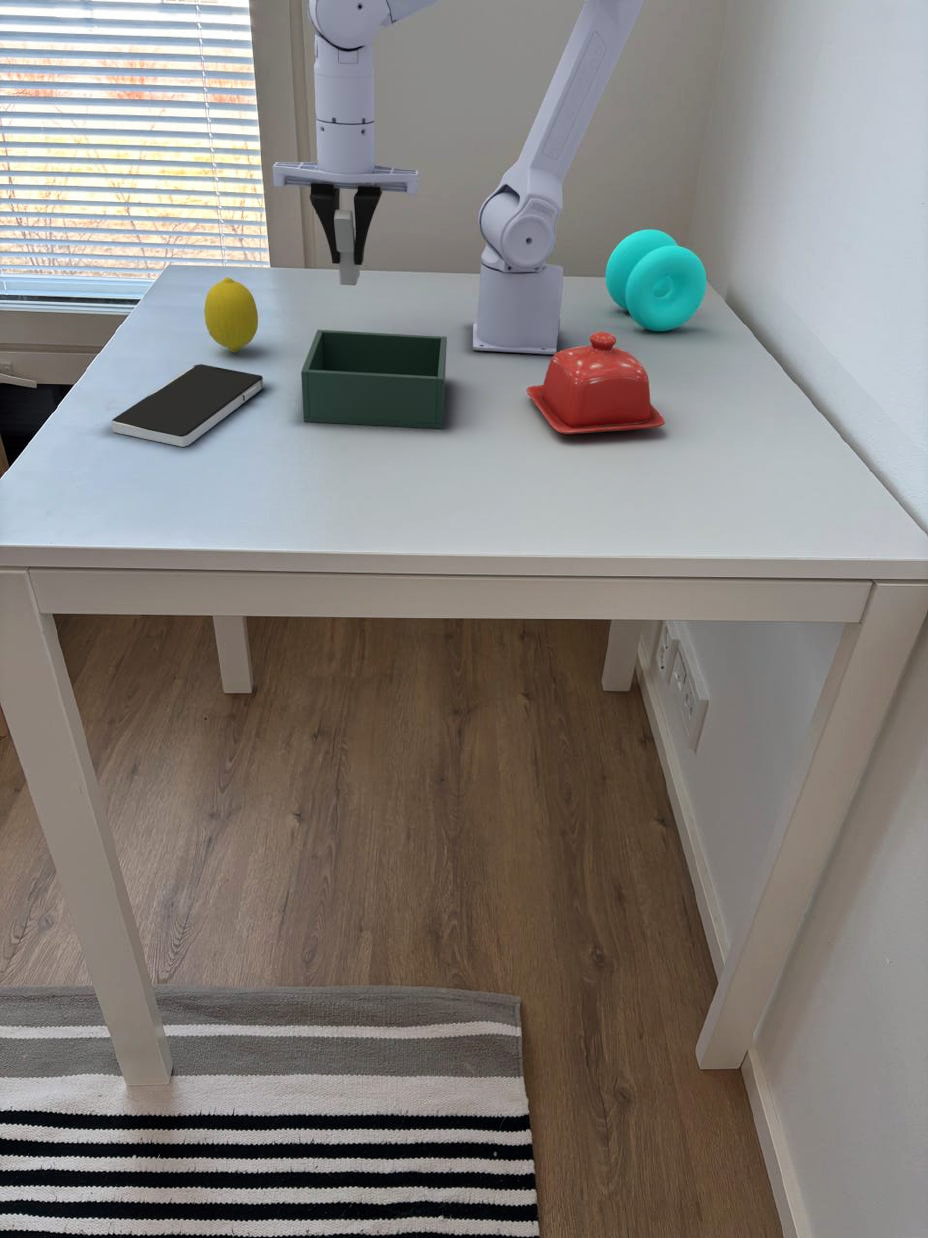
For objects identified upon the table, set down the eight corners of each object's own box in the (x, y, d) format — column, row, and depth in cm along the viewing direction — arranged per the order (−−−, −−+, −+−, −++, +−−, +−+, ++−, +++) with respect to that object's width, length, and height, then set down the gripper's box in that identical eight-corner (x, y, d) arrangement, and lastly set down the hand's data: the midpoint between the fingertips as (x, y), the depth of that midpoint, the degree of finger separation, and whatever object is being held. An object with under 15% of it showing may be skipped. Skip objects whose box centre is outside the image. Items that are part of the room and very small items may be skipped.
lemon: (249, 364, 102) (242, 288, 97) (200, 357, 103) (191, 282, 98) (268, 346, 106) (263, 273, 102) (220, 340, 107) (213, 267, 102)
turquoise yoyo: (624, 335, 115) (638, 250, 109) (597, 308, 123) (608, 226, 117) (701, 333, 117) (718, 249, 111) (669, 306, 125) (683, 226, 119)
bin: (444, 383, 101) (446, 336, 98) (441, 428, 92) (443, 379, 89) (319, 376, 100) (317, 329, 97) (303, 421, 91) (301, 371, 88)
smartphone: (107, 420, 87) (196, 362, 98) (109, 433, 88) (197, 373, 99) (185, 437, 85) (266, 376, 96) (187, 449, 86) (267, 387, 97)
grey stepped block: (344, 273, 106) (342, 196, 101) (359, 274, 106) (358, 196, 101) (335, 292, 100) (333, 212, 96) (352, 293, 100) (350, 213, 96)
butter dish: (520, 396, 99) (528, 314, 94) (624, 391, 101) (637, 311, 96) (555, 446, 90) (565, 358, 85) (668, 438, 92) (685, 353, 87)
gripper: (421, 116, 97) (418, 254, 105) (278, 108, 97) (286, 246, 105) (417, 129, 91) (414, 274, 99) (265, 119, 91) (274, 265, 99)
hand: (348, 261), depth 102 cm, fingers closed on grey stepped block, 2 cm apart
